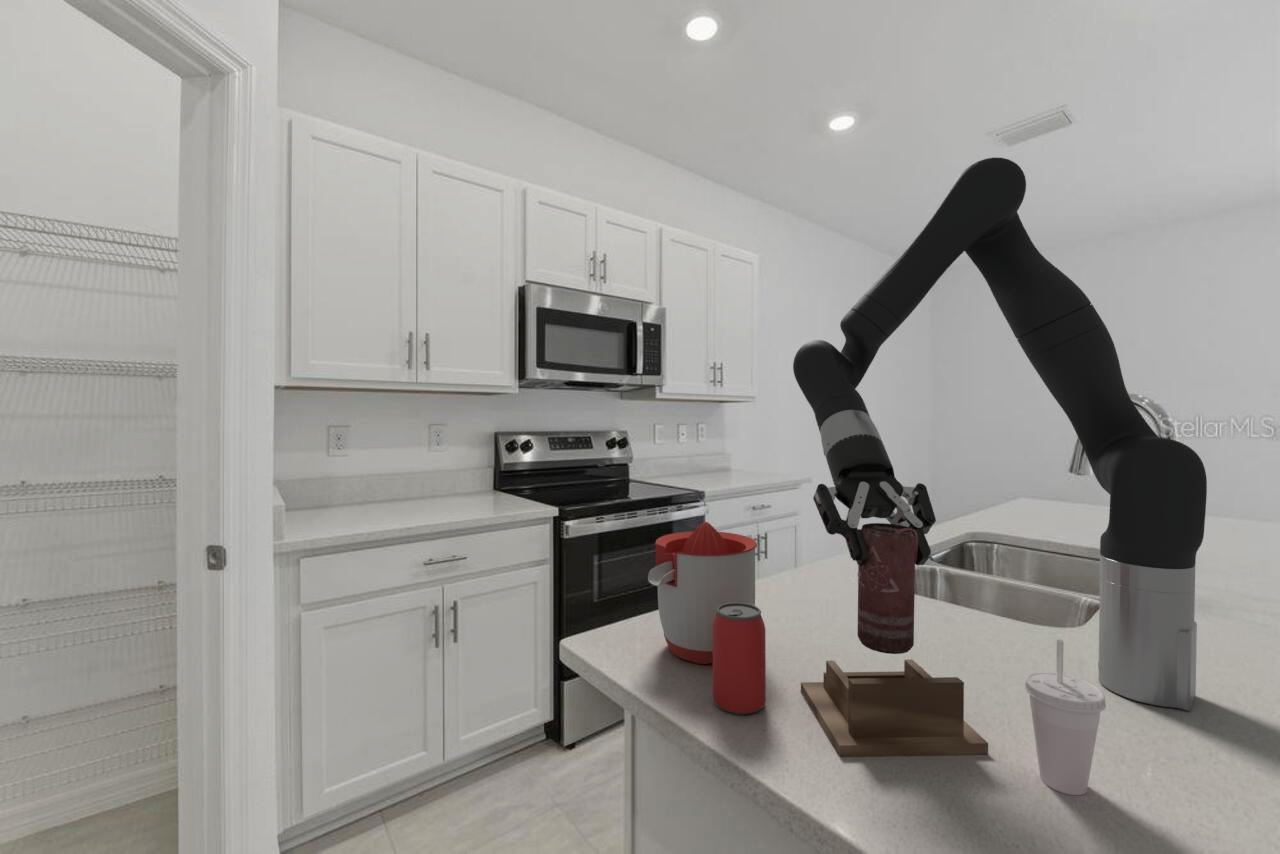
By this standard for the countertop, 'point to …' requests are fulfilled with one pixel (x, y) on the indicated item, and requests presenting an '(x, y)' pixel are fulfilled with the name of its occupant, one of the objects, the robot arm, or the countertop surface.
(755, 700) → the beer can
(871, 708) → the dock
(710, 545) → the citrus juicer
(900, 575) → the can
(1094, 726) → the smoothie
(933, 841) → the countertop surface
